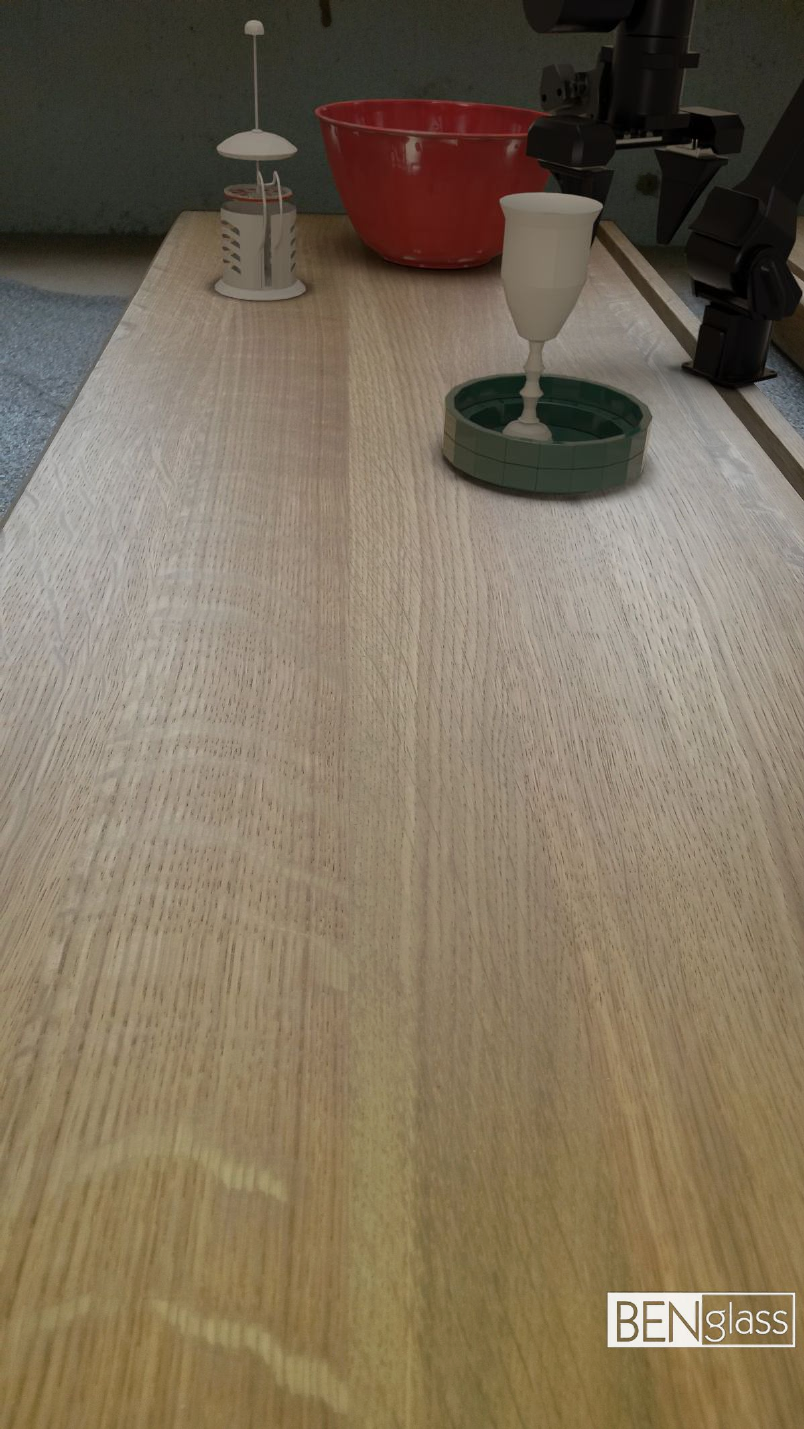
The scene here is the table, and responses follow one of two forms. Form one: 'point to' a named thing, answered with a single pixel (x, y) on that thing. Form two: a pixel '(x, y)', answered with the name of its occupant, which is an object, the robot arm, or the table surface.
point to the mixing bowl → (429, 175)
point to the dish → (580, 416)
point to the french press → (259, 218)
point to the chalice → (543, 279)
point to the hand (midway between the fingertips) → (622, 250)
